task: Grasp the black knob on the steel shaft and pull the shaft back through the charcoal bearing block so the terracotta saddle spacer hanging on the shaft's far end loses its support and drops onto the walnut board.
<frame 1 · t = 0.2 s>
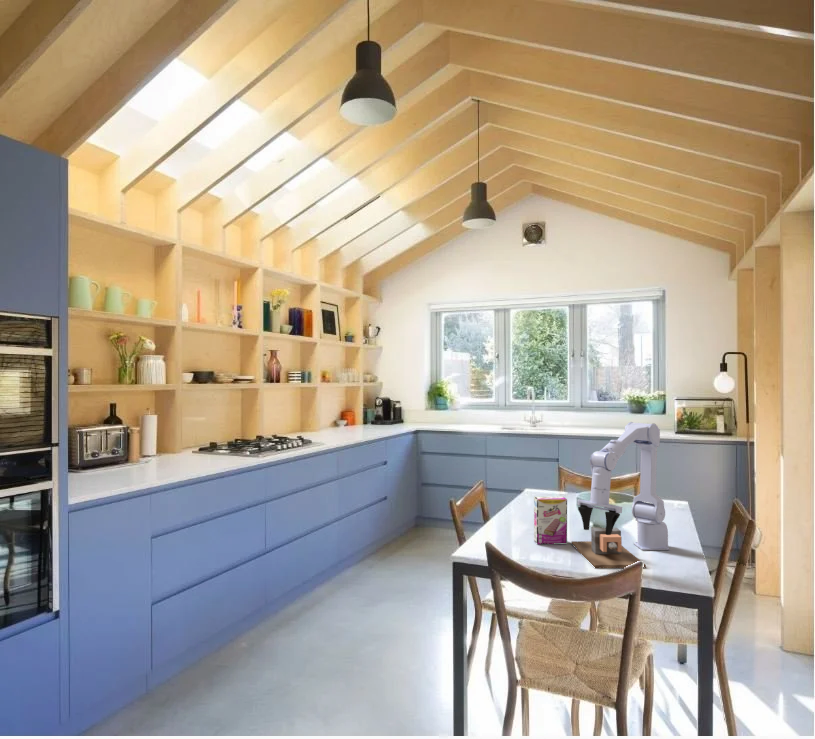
hand: (597, 532, 183), 11 cm above the table, tool pointing down, fingers open, 7 cm apart
candy bar box: (550, 543, 208), on the table
shaft: (604, 539, 195), point 5 cm above the table, slide at 0.0 cm, touching spacer
bearing stand: (606, 555, 193), on the table
spacer: (610, 550, 189), point 3 cm above the table, touching shaft
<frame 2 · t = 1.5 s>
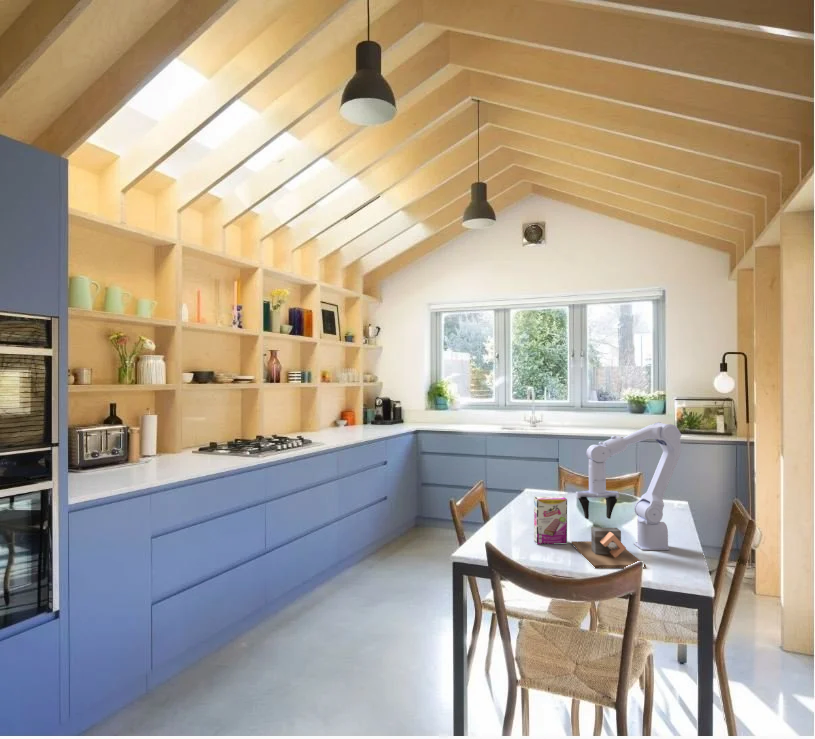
hand: (597, 518, 202), 10 cm above the table, tool pointing down, fingers open, 7 cm apart
spacer: (607, 549, 189), point 3 cm above the table, tilted 48°, touching bearing stand, shaft
everything else where it was.
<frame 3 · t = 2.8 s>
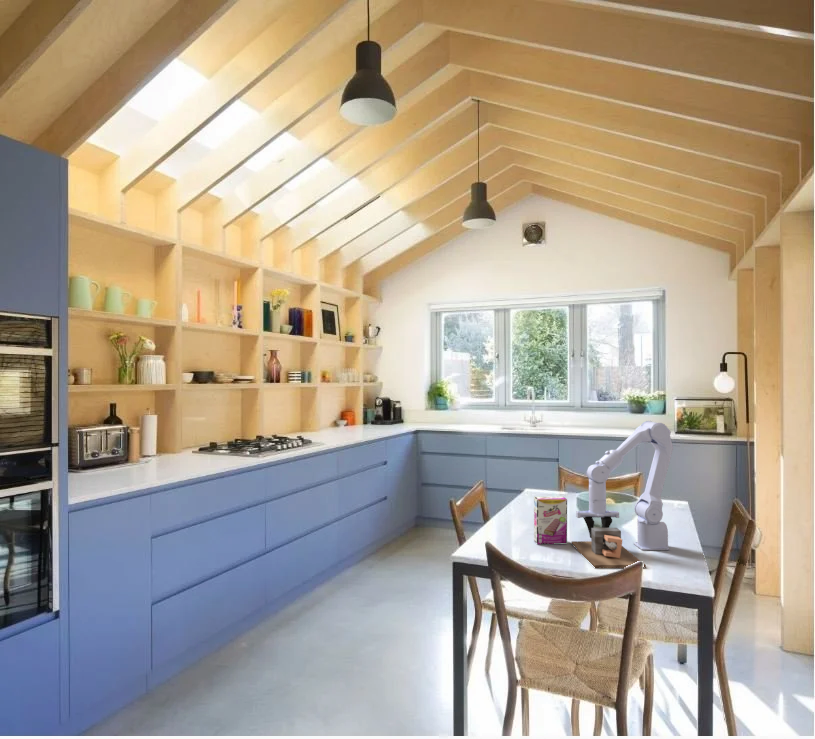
hand: (597, 538, 202), 3 cm above the table, tool pointing down, fingers closed on shaft, 4 cm apart
shaft: (604, 539, 195), point 5 cm above the table, slide at 0.0 cm, touching gripper, spacer
spacer: (604, 545, 189), point 5 cm above the table, tilted 99°, touching bearing stand, shaft
everything else where it was.
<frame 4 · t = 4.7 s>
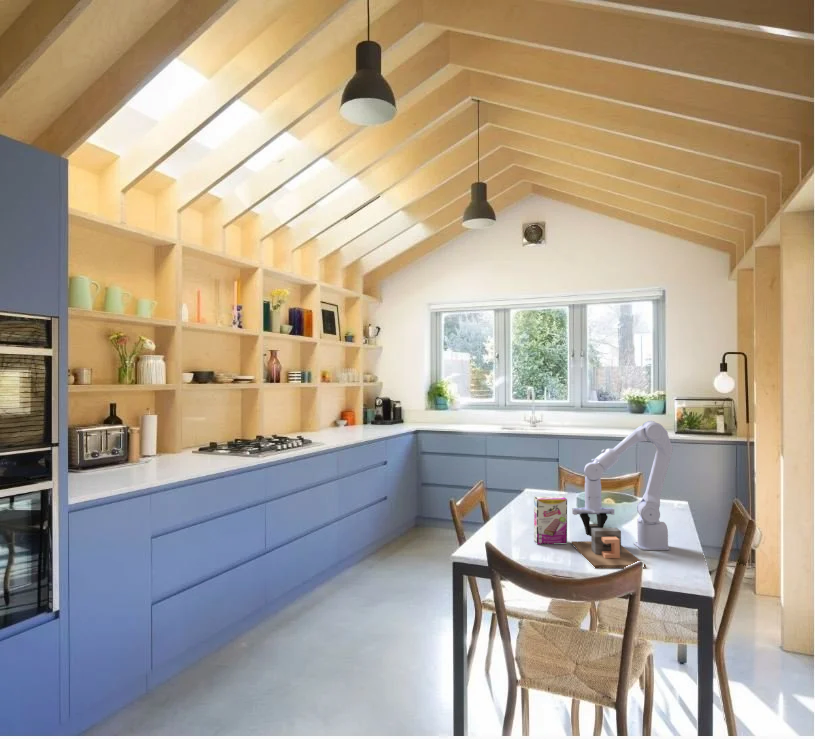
hand: (593, 534, 206), 3 cm above the table, tool pointing down, fingers closed on shaft, 4 cm apart
shaft: (600, 535, 199), point 5 cm above the table, slide at 4.7 cm, touching gripper
spacer: (603, 547, 189), point 4 cm above the table, tilted 89°, touching bearing stand
everything else where it was.
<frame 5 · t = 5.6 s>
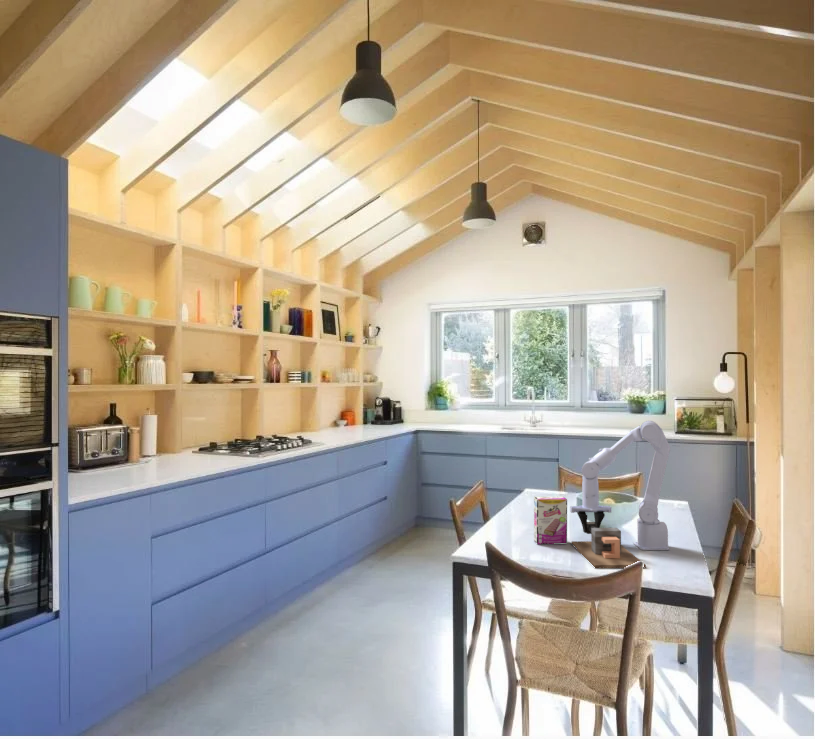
hand: (590, 532, 210), 3 cm above the table, tool pointing down, fingers closed on shaft, 4 cm apart
shaft: (597, 533, 202), point 5 cm above the table, slide at 7.7 cm, touching gripper
everything else where it was.
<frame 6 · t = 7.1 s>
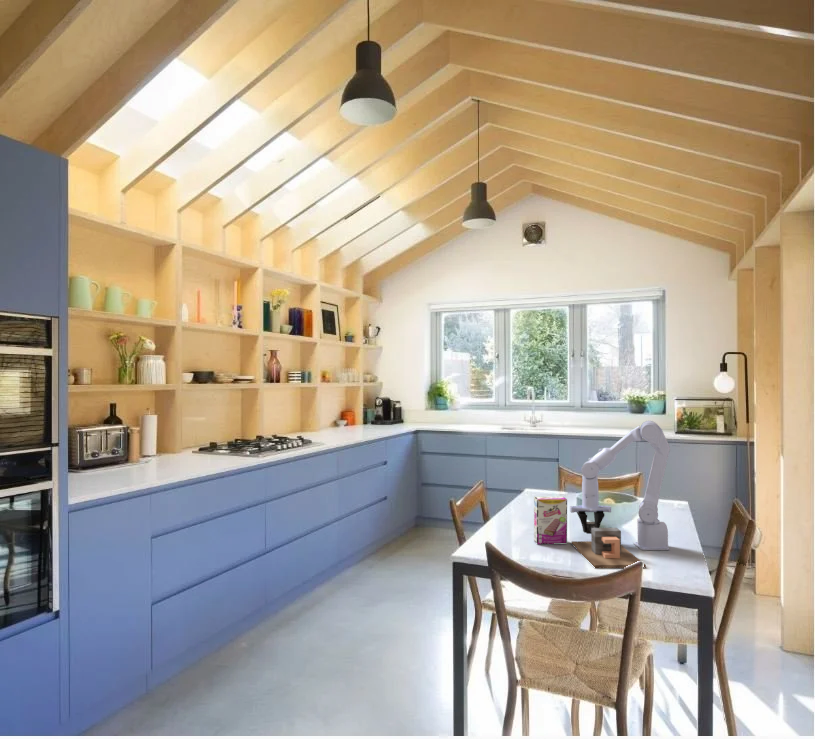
hand: (590, 532, 210), 3 cm above the table, tool pointing down, fingers closed on shaft, 4 cm apart
shaft: (596, 532, 203), point 5 cm above the table, slide at 7.9 cm, touching gripper
everything else where it was.
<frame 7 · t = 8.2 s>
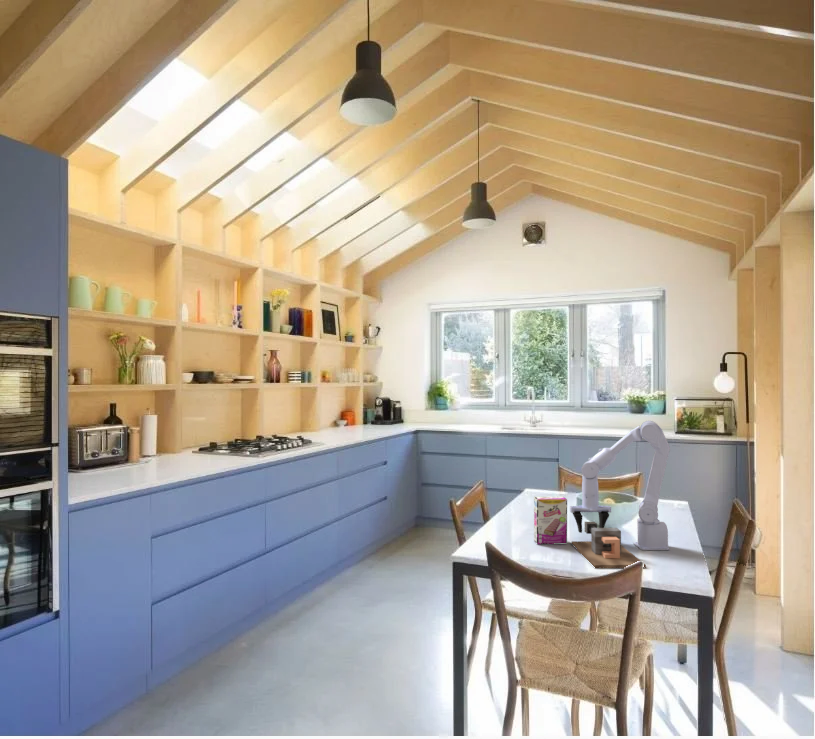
hand: (590, 532, 210), 3 cm above the table, tool pointing down, fingers open, 7 cm apart
shaft: (596, 532, 203), point 5 cm above the table, slide at 7.9 cm
everything else where it was.
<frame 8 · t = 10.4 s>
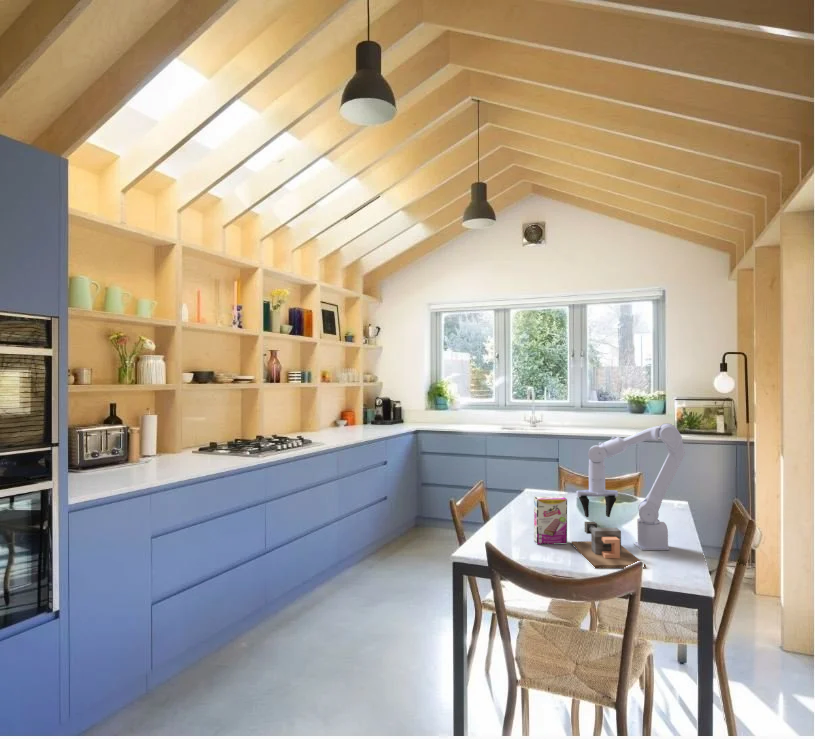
hand: (597, 516, 208), 9 cm above the table, tool pointing down, fingers open, 7 cm apart
nothing on the table moved.
at the end: shaft slide at 7.9 cm; spacer touching bearing stand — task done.
